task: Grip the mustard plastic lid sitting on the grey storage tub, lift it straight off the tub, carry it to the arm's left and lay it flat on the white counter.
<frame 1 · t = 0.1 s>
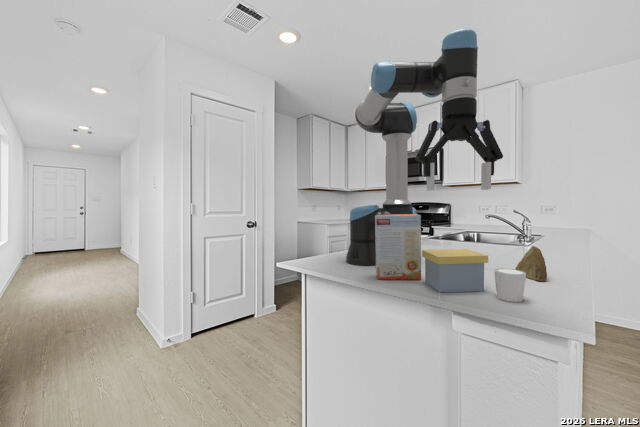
hand: (458, 190, 70), 28 cm above the countertop, tool pointing down, fingers open, 13 cm apart
rock: (529, 278, 92), on the countertop
white cup: (509, 298, 74), on the countertop
cracker box: (397, 278, 95), on the countertop
tub: (452, 286, 84), on the countertop
lid: (453, 259, 84), point 8 cm above the countertop, touching tub
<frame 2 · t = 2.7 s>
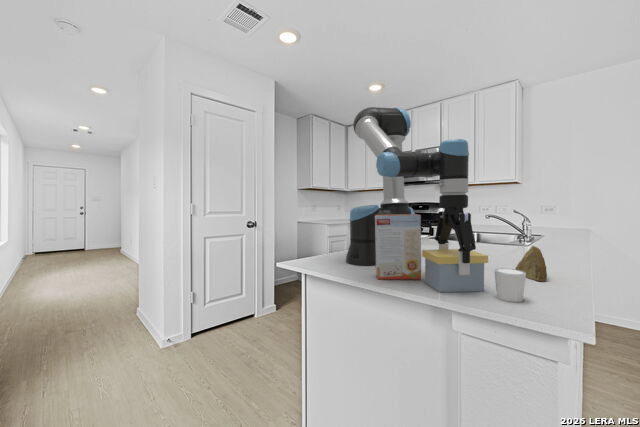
hand: (453, 269, 84), 5 cm above the countertop, tool pointing down, fingers closed on lid, 11 cm apart
lid: (453, 259, 84), point 8 cm above the countertop, touching gripper, tub
everything else where it was.
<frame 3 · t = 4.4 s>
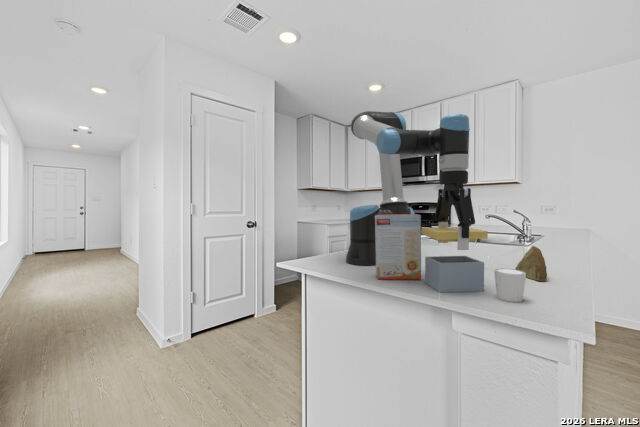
hand: (452, 246, 84), 12 cm above the countertop, tool pointing down, fingers closed on lid, 11 cm apart
lid: (452, 236, 84), point 15 cm above the countertop, touching gripper
everything else where it was.
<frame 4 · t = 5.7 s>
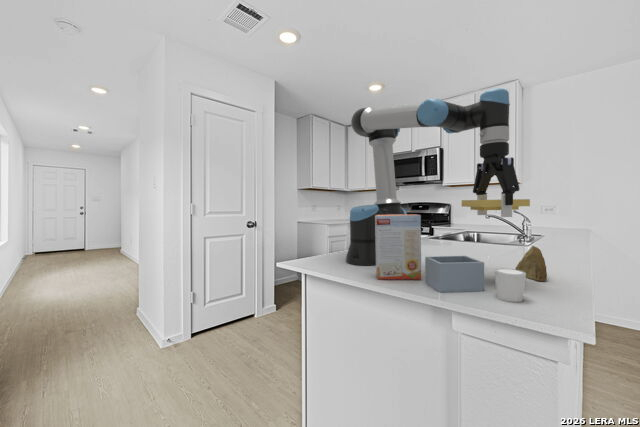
hand: (493, 216, 87), 20 cm above the countertop, tool pointing down, fingers closed on lid, 11 cm apart
lid: (493, 206, 87), point 23 cm above the countertop, touching gripper
everything else where it was.
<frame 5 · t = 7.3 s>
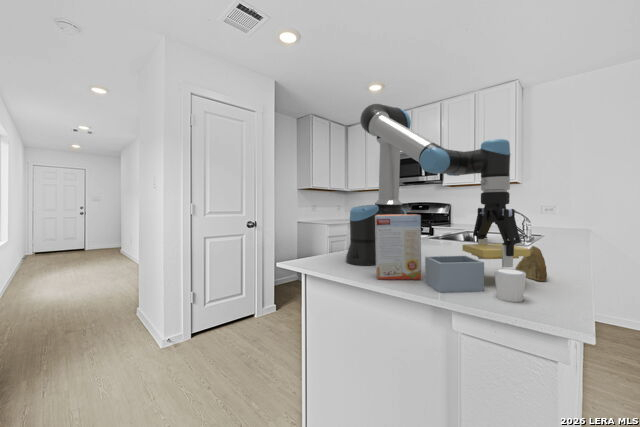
hand: (494, 262, 88), 6 cm above the countertop, tool pointing down, fingers closed on lid, 11 cm apart
lid: (494, 253, 88), point 9 cm above the countertop, touching gripper
everything else where it was.
when the fingers open (1 cm above the countertop, at t = 8.7 s): lid drops 4 cm, point 1 cm above the countertop.
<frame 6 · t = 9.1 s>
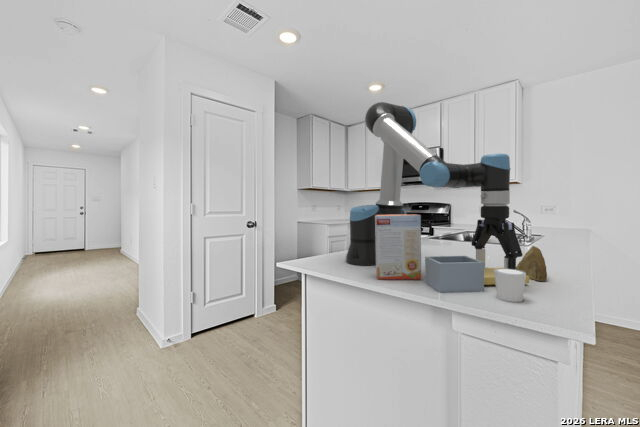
hand: (493, 274, 89), 2 cm above the countertop, tool pointing down, fingers open, 13 cm apart
lid: (493, 278, 89), point 1 cm above the countertop
everything else where it was.
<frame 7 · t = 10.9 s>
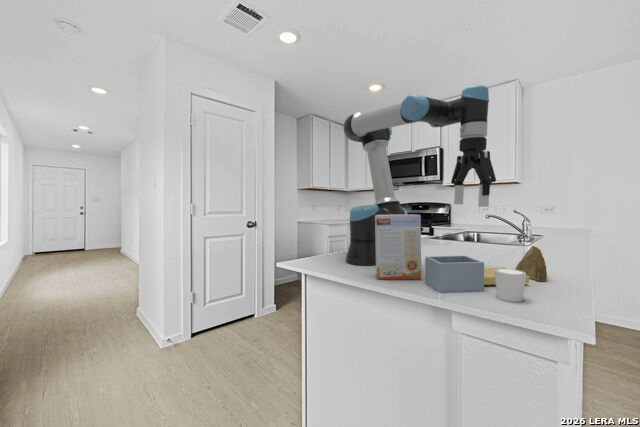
hand: (470, 205, 92), 23 cm above the countertop, tool pointing down, fingers open, 13 cm apart
nothing on the countertop moved.
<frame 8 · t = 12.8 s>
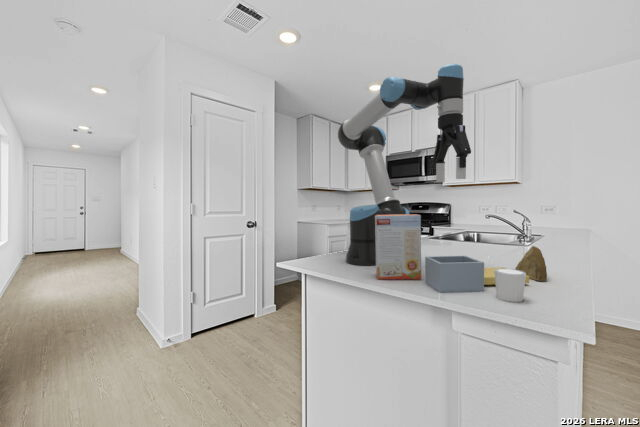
hand: (449, 180, 95), 32 cm above the countertop, tool pointing down, fingers open, 13 cm apart
nothing on the countertop moved.
at the end: lid inside the target area (0.5 cm from its centre), point 0.7 cm above the countertop; lid tilted 0°; the gripper is holding nothing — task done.
